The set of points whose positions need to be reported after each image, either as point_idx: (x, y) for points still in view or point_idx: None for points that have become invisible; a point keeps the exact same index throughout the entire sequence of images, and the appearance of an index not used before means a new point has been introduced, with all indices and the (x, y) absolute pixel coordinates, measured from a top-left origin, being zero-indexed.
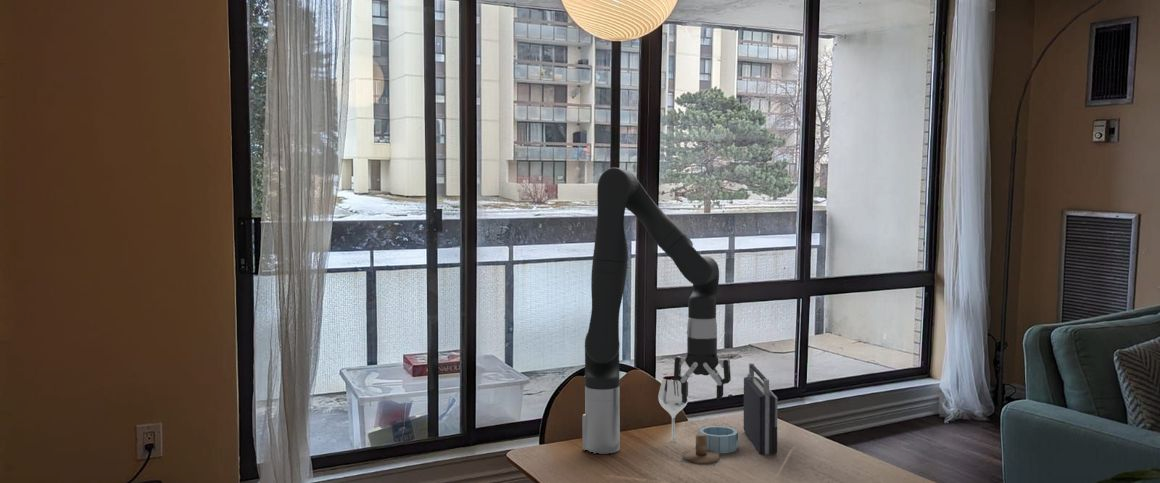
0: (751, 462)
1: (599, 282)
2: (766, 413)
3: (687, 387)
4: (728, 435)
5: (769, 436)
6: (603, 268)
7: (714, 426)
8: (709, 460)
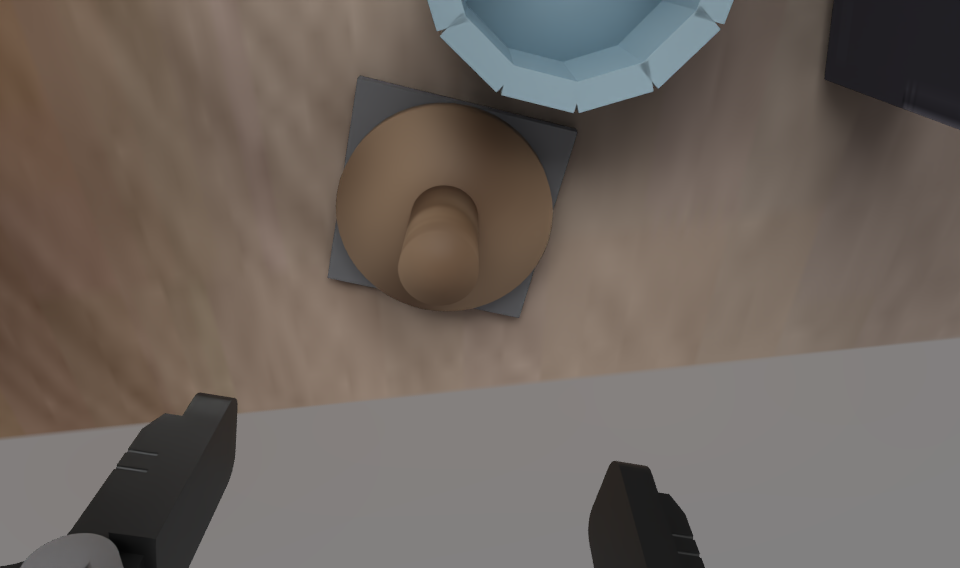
0: (735, 199)
1: None
2: None
3: (191, 500)
4: (653, 71)
5: None
6: None
7: None
8: (492, 299)
